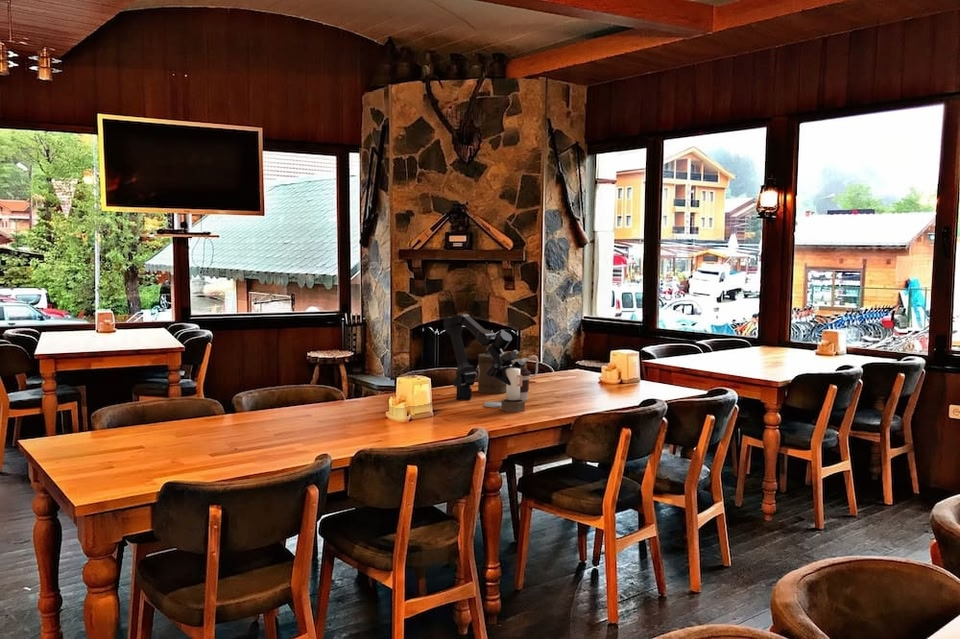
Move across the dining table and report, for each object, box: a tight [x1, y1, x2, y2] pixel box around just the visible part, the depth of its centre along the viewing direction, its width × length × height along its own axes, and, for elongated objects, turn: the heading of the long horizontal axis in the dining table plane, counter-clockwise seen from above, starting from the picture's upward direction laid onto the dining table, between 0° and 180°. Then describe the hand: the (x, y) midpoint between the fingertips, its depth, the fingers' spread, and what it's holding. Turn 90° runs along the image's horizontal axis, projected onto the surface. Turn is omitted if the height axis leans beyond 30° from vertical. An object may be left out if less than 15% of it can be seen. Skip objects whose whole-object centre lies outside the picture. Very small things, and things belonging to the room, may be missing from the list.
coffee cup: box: [520, 367, 531, 401], centre depth 352 cm, size 10×10×15 cm
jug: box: [505, 368, 522, 400], centre depth 329 cm, size 8×6×13 cm
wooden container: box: [477, 352, 506, 395], centre depth 375 cm, size 15×15×22 cm
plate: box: [483, 401, 501, 409], centre depth 339 cm, size 10×10×1 cm
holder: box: [500, 398, 526, 413], centre depth 331 cm, size 10×10×4 cm
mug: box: [503, 350, 539, 378], centre depth 406 cm, size 20×14×15 cm
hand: (515, 384), depth 329 cm, fingers closed on jug, 6 cm apart
